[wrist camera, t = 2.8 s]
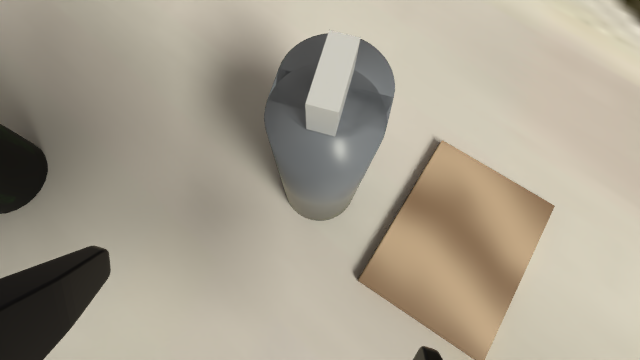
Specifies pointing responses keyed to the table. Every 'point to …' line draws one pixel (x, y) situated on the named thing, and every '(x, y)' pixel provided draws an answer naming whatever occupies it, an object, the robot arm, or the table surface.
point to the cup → (19, 170)
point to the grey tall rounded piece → (327, 120)
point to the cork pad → (458, 249)
